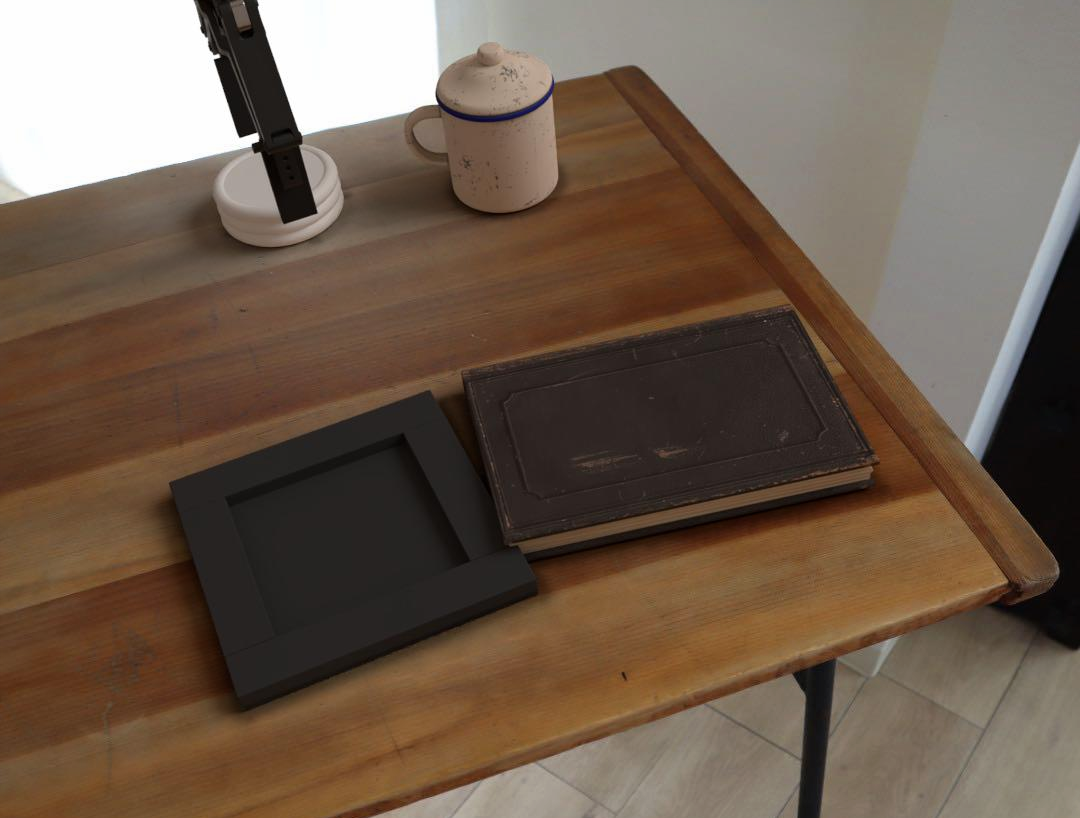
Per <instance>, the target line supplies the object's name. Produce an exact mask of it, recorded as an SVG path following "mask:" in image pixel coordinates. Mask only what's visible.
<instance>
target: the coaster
mask: <svg viewBox="0 0 1080 818" xmlns="http://www.w3.org/2000/svg"><path fill="white" fill-rule="evenodd" d="M299 147H300V151H301V154H302V158H303V161H304V165H305V169H306V172H307V176H308V179H309V183H310V186H311V190H312V194H313V197H314V201H315V204H316V208H317V212H318V214H315V215H312V216H309V217H306V218H303V219H300V220H297V221H293V222H290V223H287V224H283V222H282V220H281V217H280V214H279V211H278V207H277V204H276V201H275V198H274V194H273V191H272V188H271V185H270V181H269V178H268V175H267V172H266V168H265V165H264V162H263V159H262V155H261V152H259V153H256V154H254V152H253V150H252V149H250V150H248V151H246V152H243V153H241V154H239V155H237V156H235V158H232V160H230V161H229V162H228V163H226V164H225V165H224V166H223V168H221V170H220V171H219V172H218V173H217V175H216V176H215V178H214V181H213V184H212V196H213V197H212V198H213V200H214V202H215V203H216V208H217V212H218V215H219V216H220V220H221V223H222V225H223V228H224V229H225V231H227V233H228V234H229V236H232V237H233V238H234V239H236V240H237V241H240V242H242V243H244V244H247V245H252V246H255V247H260V248H261V247H263V248H277V247H286V246H287V247H288V246H292V245H295V244H299V243H303V242H305V241H308V240H309V239H312V238H314V237H316V236H318V235H319V234H321V233H322V232H324V231H326V230H327V229H328V228H329V227H330V226H331V225H332V224H334V223H335V221H336V220H338V218H339V216H340V215H341V212H342V210H343V208H344V199H345V196H344V192H343V189H342V182H341V179H340V177H339V172H338V167H337V165H336V163H335V161H334V160H333V158H332V157H331V156H330V155H329V154H328V153H327V152H325V151H323V150H321V149H319V148H318V147H316V146H312V145H308V144H304V143H302V145H299Z"/></svg>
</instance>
